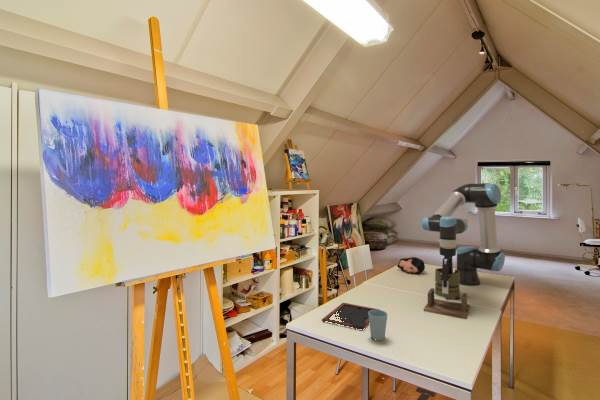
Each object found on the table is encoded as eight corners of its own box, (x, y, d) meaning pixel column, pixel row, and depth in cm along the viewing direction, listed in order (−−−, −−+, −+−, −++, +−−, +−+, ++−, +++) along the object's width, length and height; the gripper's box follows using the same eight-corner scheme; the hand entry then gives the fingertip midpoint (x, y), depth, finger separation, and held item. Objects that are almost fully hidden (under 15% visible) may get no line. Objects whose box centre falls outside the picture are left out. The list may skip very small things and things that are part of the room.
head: (393, 264, 233) (423, 267, 223) (396, 252, 242) (425, 254, 233) (395, 276, 238) (424, 279, 229) (398, 264, 248) (426, 267, 239)
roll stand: (431, 300, 179) (431, 285, 178) (469, 307, 168) (470, 291, 168) (423, 311, 164) (423, 294, 163) (465, 319, 153) (466, 301, 153)
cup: (385, 343, 130) (385, 318, 130) (366, 339, 133) (366, 314, 133) (389, 336, 137) (389, 311, 136) (371, 332, 140) (370, 308, 140)
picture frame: (363, 332, 142) (380, 312, 163) (363, 327, 142) (380, 309, 163) (321, 323, 152) (342, 305, 173) (321, 318, 152) (342, 302, 173)
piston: (457, 275, 157) (432, 271, 164) (457, 299, 158) (432, 295, 164) (461, 270, 166) (438, 267, 173) (461, 293, 167) (438, 289, 173)
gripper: (443, 243, 177) (443, 282, 177) (435, 250, 157) (434, 295, 158) (459, 244, 172) (458, 285, 173) (452, 252, 153) (451, 298, 154)
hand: (447, 290), depth 165 cm, fingers closed on piston, 11 cm apart
